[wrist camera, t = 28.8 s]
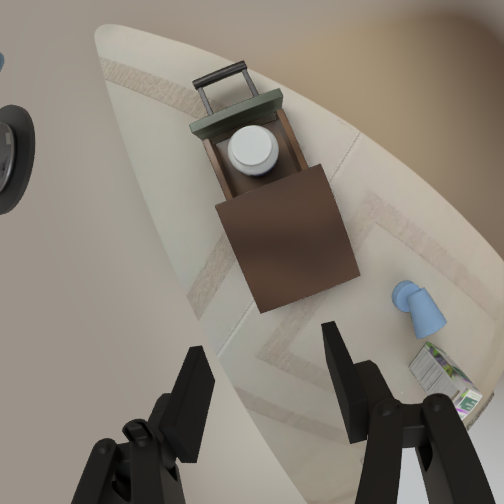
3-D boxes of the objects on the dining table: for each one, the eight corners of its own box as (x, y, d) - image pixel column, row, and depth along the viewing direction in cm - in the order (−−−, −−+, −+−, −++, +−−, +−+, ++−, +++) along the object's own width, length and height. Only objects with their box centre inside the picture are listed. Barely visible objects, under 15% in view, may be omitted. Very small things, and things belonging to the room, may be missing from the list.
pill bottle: (282, 144, 36) (286, 127, 26) (270, 183, 37) (270, 179, 27) (242, 132, 36) (232, 112, 26) (230, 171, 37) (216, 163, 27)
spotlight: (423, 307, 41) (412, 270, 40) (454, 333, 31) (445, 290, 30) (398, 321, 41) (385, 285, 40) (425, 351, 32) (414, 310, 31)
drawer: (184, 97, 36) (172, 83, 30) (260, 66, 35) (258, 47, 29) (234, 217, 39) (228, 221, 33) (314, 186, 38) (322, 184, 32)
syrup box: (444, 351, 42) (485, 394, 28) (425, 376, 43) (460, 424, 29) (426, 340, 42) (468, 386, 28) (406, 367, 43) (441, 418, 29)
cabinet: (225, 203, 40) (214, 205, 32) (311, 169, 38) (320, 163, 31) (262, 293, 42) (260, 314, 34) (345, 261, 40) (360, 275, 33)
